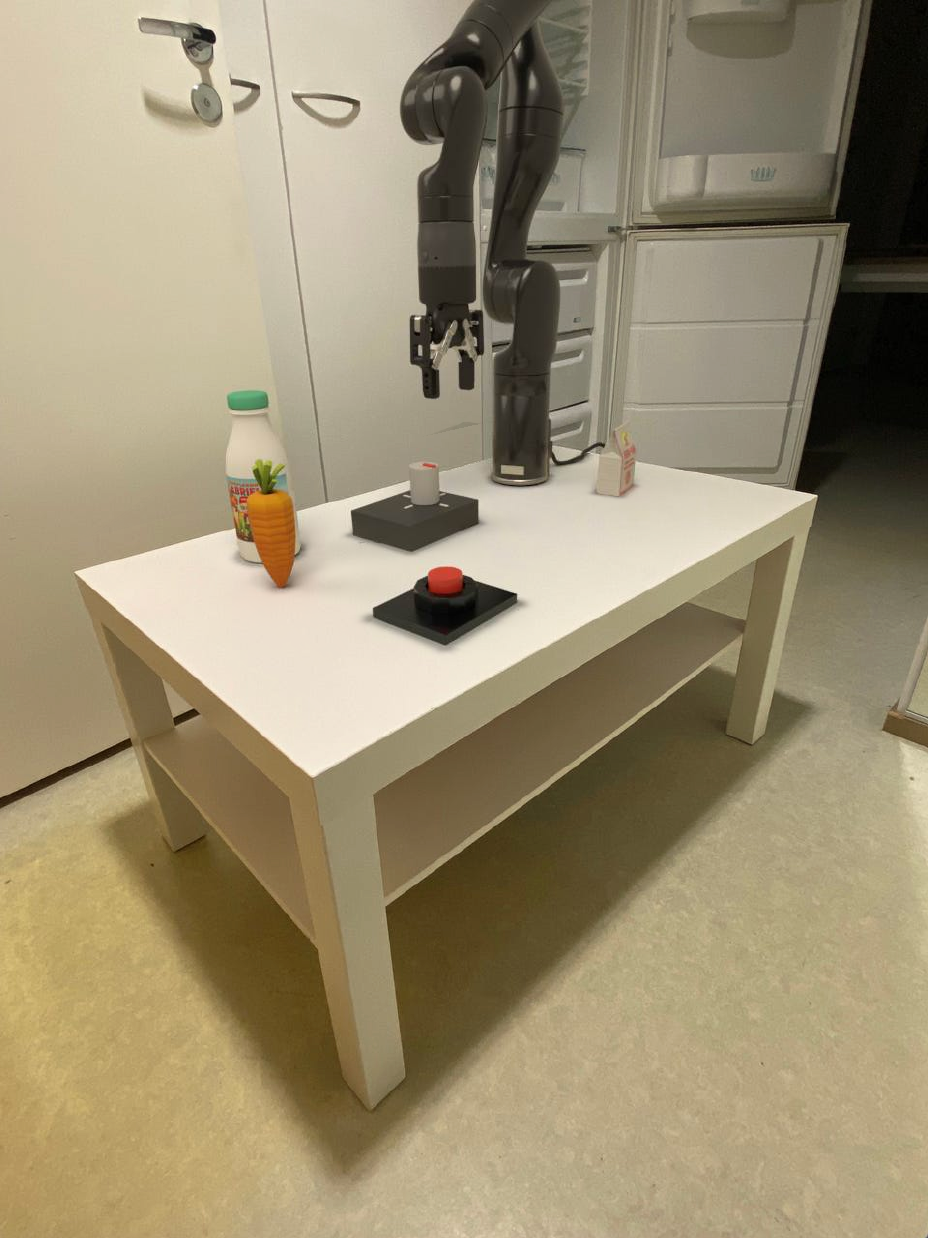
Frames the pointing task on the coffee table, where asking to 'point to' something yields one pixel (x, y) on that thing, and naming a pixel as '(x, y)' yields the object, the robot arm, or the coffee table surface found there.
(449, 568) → the power button
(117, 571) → the coffee table surface
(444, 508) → the panel
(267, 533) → the carrot
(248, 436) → the milk bottle
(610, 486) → the milk carton
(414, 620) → the power switch
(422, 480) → the timer knob
